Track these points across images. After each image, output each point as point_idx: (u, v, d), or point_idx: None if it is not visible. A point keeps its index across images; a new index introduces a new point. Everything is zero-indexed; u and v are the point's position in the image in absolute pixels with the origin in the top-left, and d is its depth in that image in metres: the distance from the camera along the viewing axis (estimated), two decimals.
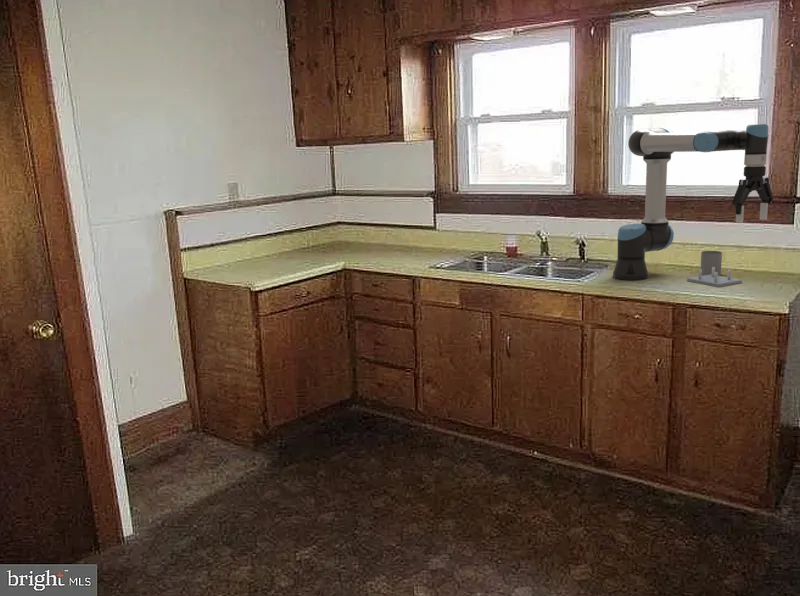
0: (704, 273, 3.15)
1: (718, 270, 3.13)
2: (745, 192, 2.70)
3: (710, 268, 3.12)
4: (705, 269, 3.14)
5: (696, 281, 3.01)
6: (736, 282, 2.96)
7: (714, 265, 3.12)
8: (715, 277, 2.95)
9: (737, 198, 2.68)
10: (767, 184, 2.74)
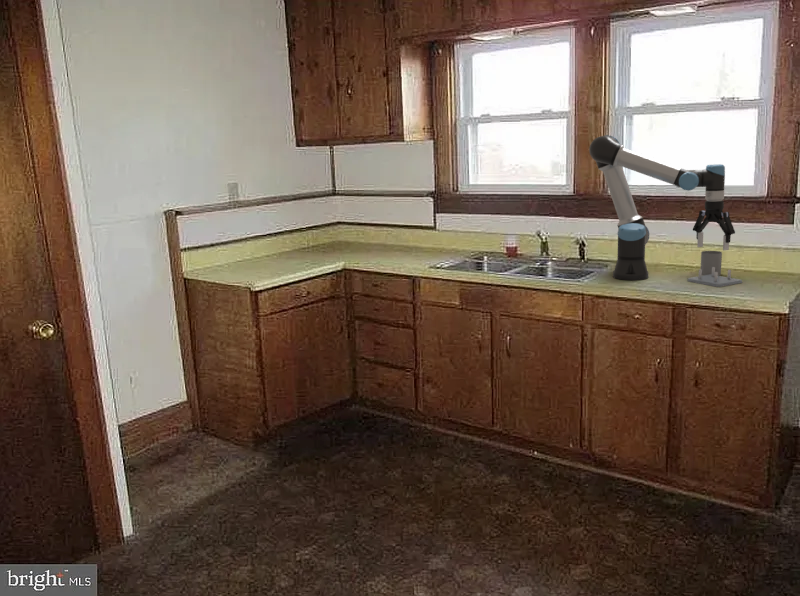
0: (704, 273, 3.15)
1: (718, 270, 3.13)
2: None
3: (710, 268, 3.12)
4: (705, 269, 3.14)
5: (696, 281, 3.01)
6: (736, 282, 2.96)
7: (714, 265, 3.12)
8: (715, 277, 2.95)
9: None
10: (724, 218, 3.05)
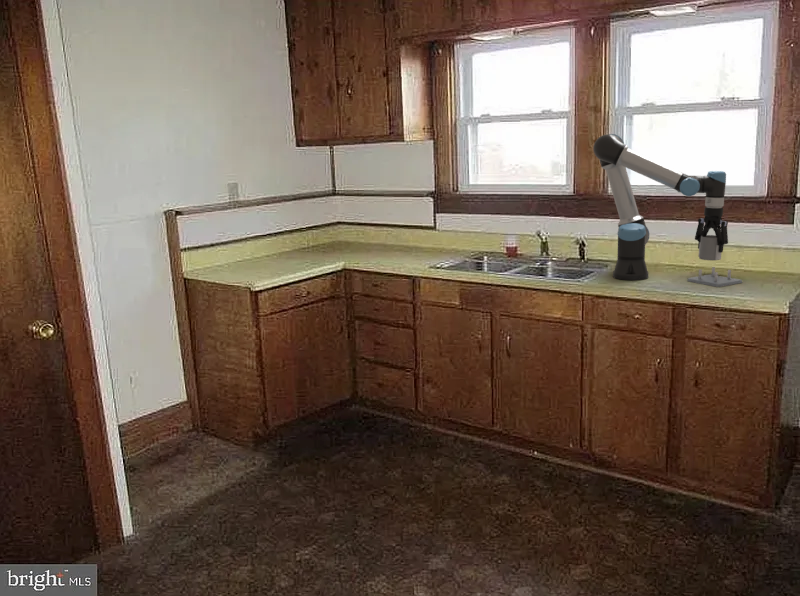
0: (703, 257, 3.13)
1: None
2: None
3: (709, 252, 3.11)
4: (704, 253, 3.12)
5: (696, 281, 3.01)
6: (736, 282, 2.96)
7: (713, 249, 3.10)
8: (715, 277, 2.95)
9: None
10: (721, 227, 3.07)
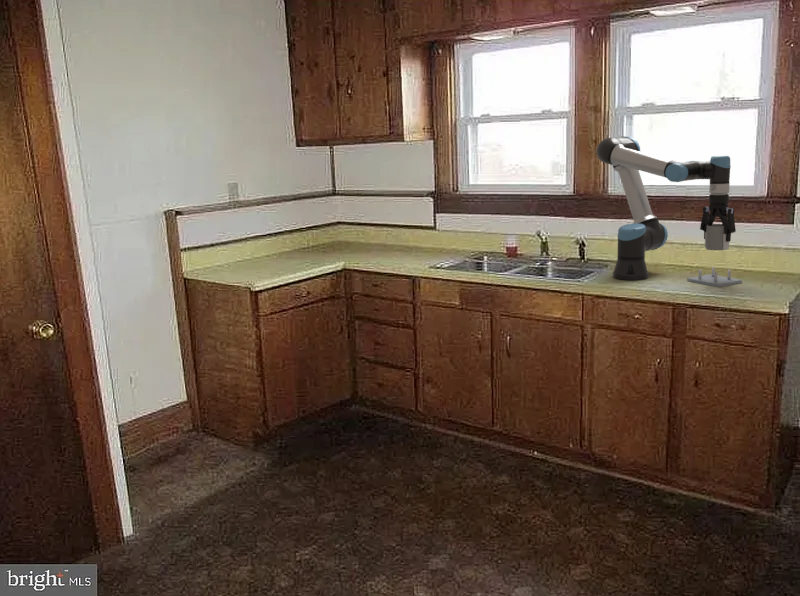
0: (710, 247, 2.95)
1: None
2: None
3: (716, 242, 2.93)
4: (711, 243, 2.95)
5: (696, 281, 3.01)
6: (736, 282, 2.96)
7: (720, 238, 2.93)
8: (715, 277, 2.95)
9: None
10: (728, 215, 2.89)
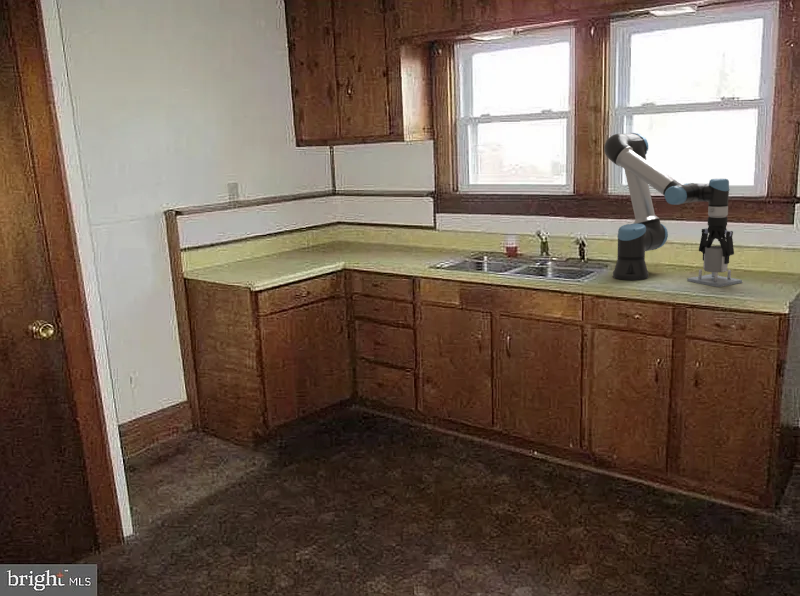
0: (708, 269, 2.98)
1: None
2: None
3: (715, 264, 2.96)
4: (709, 265, 2.97)
5: (696, 281, 3.01)
6: (736, 282, 2.96)
7: (719, 261, 2.95)
8: (715, 277, 2.95)
9: None
10: (726, 237, 2.91)
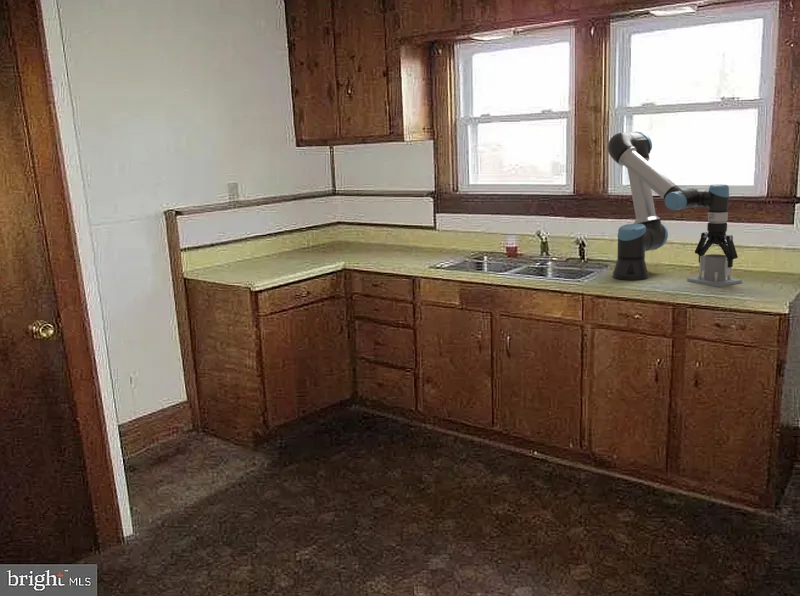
0: (708, 278, 2.98)
1: (723, 275, 2.97)
2: None
3: (714, 273, 2.96)
4: (709, 274, 2.98)
5: (696, 281, 3.01)
6: (736, 282, 2.96)
7: (719, 269, 2.96)
8: (715, 277, 2.95)
9: None
10: (727, 242, 2.91)
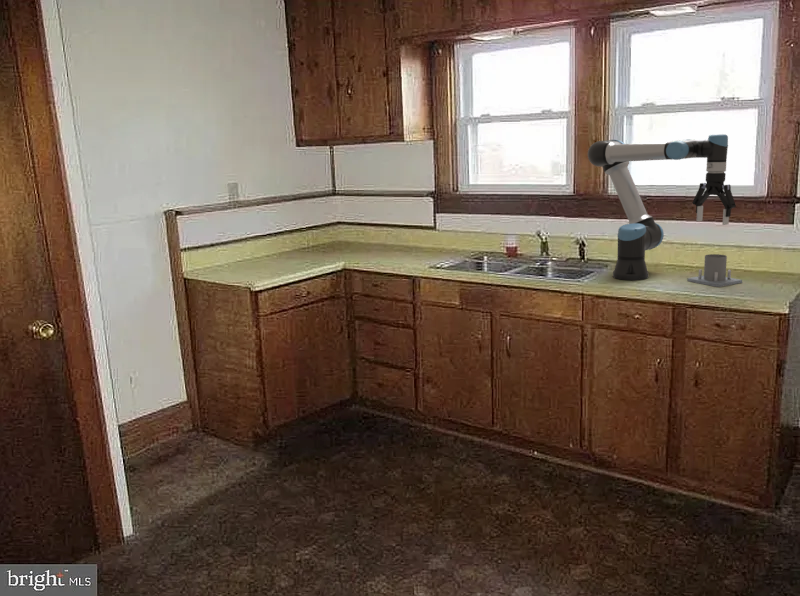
0: (708, 278, 2.98)
1: (723, 275, 2.97)
2: None
3: (714, 273, 2.96)
4: (709, 274, 2.98)
5: (696, 281, 3.01)
6: (736, 282, 2.96)
7: (719, 269, 2.96)
8: (715, 277, 2.95)
9: None
10: (725, 191, 2.92)
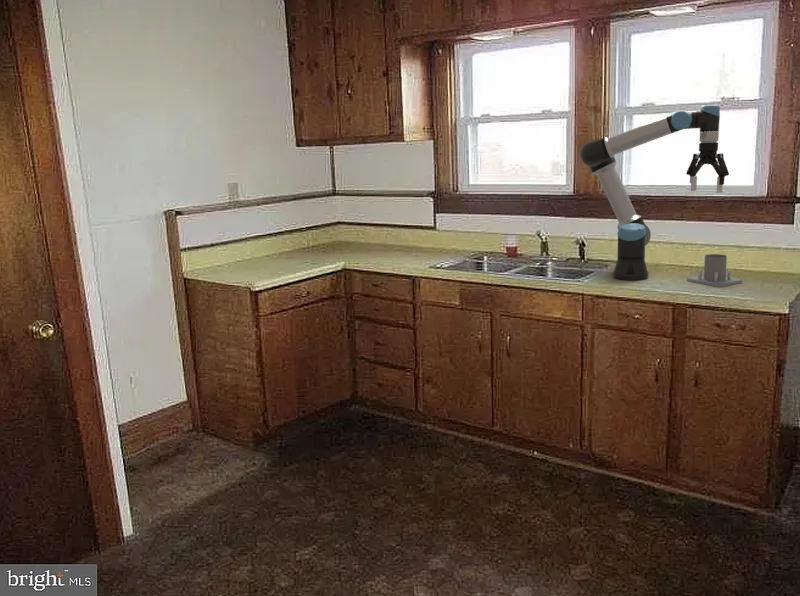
0: (708, 278, 2.98)
1: (723, 275, 2.97)
2: None
3: (714, 273, 2.96)
4: (709, 274, 2.98)
5: (696, 281, 3.01)
6: (736, 282, 2.96)
7: (719, 269, 2.96)
8: (715, 277, 2.95)
9: None
10: (718, 159, 3.00)
